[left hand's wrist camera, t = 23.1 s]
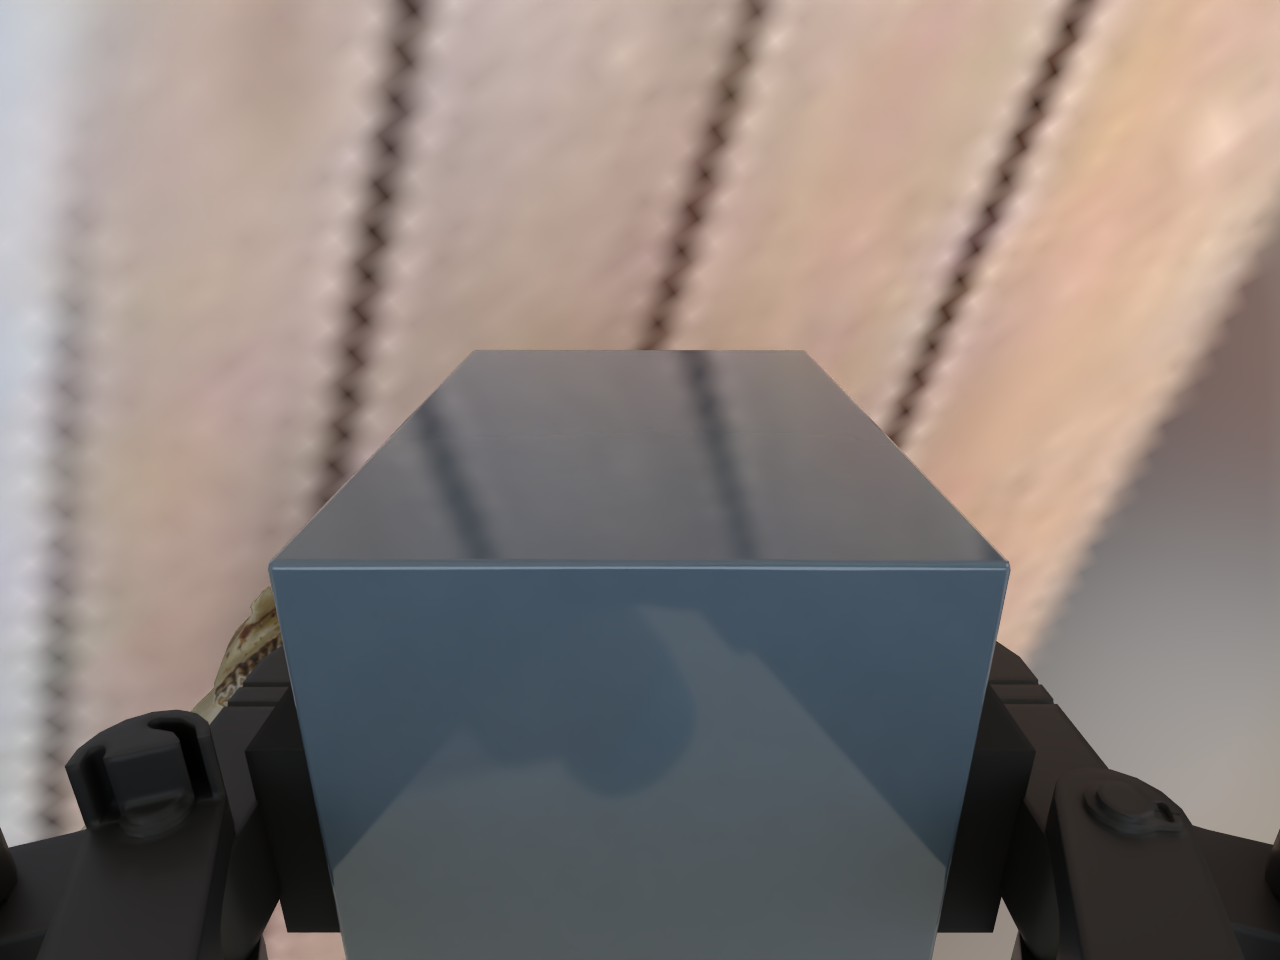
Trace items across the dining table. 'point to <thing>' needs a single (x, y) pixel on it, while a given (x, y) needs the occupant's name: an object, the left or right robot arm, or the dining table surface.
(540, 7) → the dining table surface
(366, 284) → the dining table surface
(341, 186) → the dining table surface
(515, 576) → the block
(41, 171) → the dining table surface
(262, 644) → the jawbone
